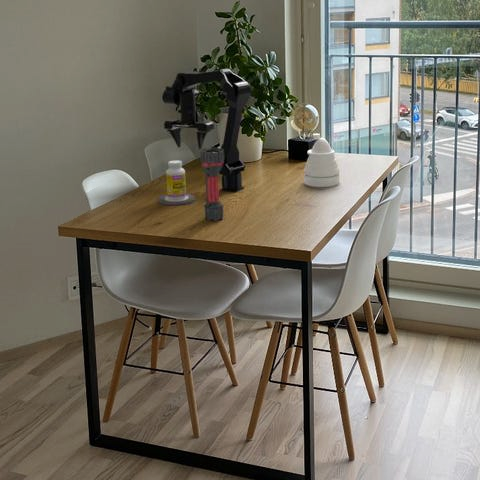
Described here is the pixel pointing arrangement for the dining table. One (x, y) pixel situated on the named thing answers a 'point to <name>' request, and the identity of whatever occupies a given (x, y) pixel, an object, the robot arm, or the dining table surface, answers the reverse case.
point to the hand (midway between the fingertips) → (189, 148)
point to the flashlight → (212, 181)
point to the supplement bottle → (175, 181)
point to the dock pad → (186, 200)
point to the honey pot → (321, 165)
